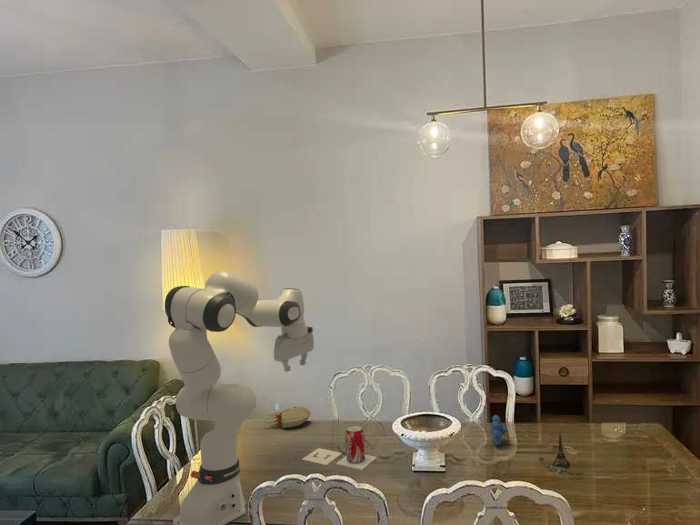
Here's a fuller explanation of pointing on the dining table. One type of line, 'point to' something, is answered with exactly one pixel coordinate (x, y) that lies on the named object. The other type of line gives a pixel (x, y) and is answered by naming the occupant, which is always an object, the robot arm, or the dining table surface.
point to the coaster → (357, 466)
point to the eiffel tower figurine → (559, 462)
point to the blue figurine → (497, 430)
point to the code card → (322, 456)
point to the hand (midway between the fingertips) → (295, 368)
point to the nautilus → (291, 417)
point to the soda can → (355, 444)
